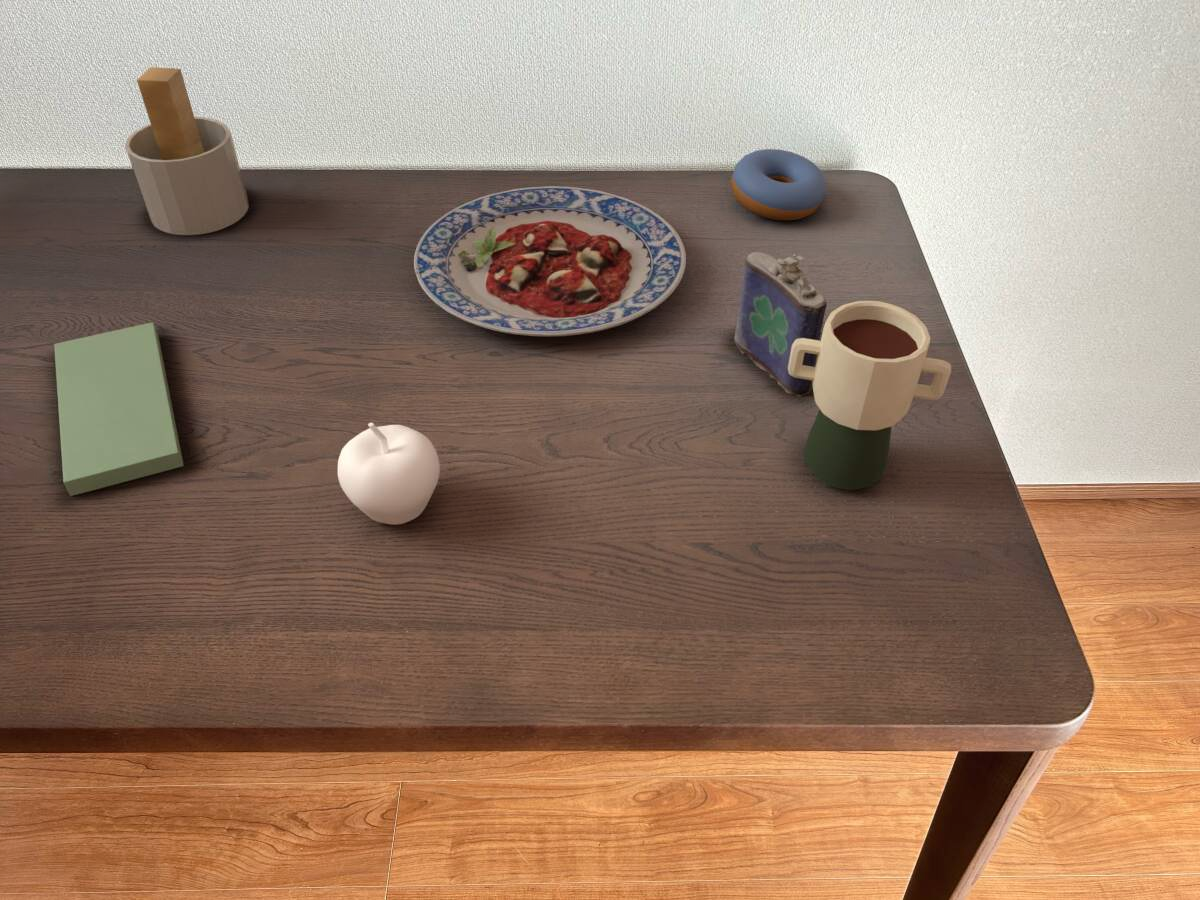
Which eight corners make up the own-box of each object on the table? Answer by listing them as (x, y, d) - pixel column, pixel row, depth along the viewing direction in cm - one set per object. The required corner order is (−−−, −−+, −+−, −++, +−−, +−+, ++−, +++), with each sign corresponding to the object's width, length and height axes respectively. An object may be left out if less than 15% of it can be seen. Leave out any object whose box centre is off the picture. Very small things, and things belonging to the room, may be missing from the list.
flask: (727, 341, 86) (742, 235, 79) (754, 332, 87) (770, 226, 80) (793, 400, 80) (815, 292, 73) (821, 389, 81) (845, 282, 74)
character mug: (915, 448, 76) (959, 312, 67) (913, 512, 71) (961, 374, 62) (776, 424, 78) (802, 288, 69) (765, 485, 73) (791, 347, 64)
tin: (134, 232, 98) (107, 158, 92) (174, 185, 105) (152, 114, 100) (227, 238, 97) (206, 164, 92) (262, 190, 104) (244, 119, 99)
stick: (179, 213, 100) (136, 79, 90) (191, 199, 102) (150, 66, 92) (207, 215, 100) (167, 81, 90) (218, 201, 102) (180, 68, 92)
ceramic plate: (725, 243, 98) (728, 217, 96) (608, 388, 81) (608, 360, 79) (507, 183, 106) (506, 158, 104) (360, 302, 90) (355, 275, 88)
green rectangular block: (60, 357, 83) (53, 343, 82) (158, 335, 86) (153, 321, 85) (70, 496, 71) (63, 482, 70) (184, 466, 74) (178, 452, 73)
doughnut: (841, 213, 102) (849, 173, 99) (765, 237, 99) (771, 196, 96) (784, 173, 109) (790, 134, 106) (710, 194, 105) (714, 154, 102)
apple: (365, 467, 74) (348, 386, 68) (456, 479, 73) (446, 398, 68) (332, 534, 69) (310, 453, 63) (428, 548, 68) (415, 467, 63)
